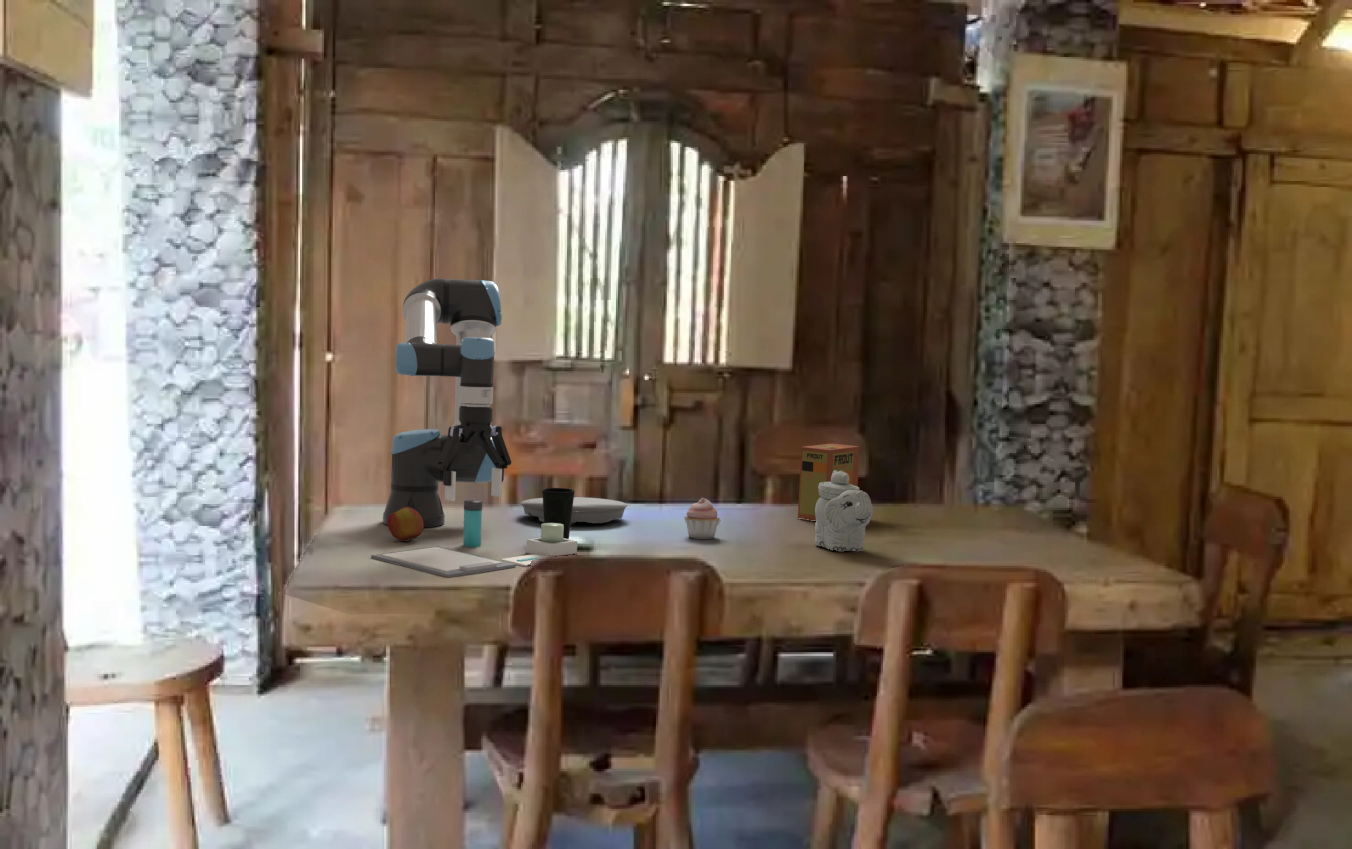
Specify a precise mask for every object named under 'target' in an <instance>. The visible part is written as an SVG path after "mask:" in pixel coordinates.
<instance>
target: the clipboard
mask: <svg viewBox="0 0 1352 849" xmlns="http://www.w3.org/2000/svg"><path fill="white" fill-rule="evenodd" d="M370 556H371V557H370V558H371V559H375V560H378V561H383V562H386V563H391V564H395V565H398V566H402V567H405V568H411V569H414V570H417V571H422V572H426V573H430V574H434V575H438V576H441V577H446V578H453V577H458V576H459V577H461V576H466V575H474V574H478V573H479V574H480V573H486V572H492V571H498V570H499V571H500V570H506V569H512V568H516V566H517V565H516V564H512V563H508V562H504V561H501V560H499V559H495V558H490V557H485V556H481V555H479V554H473V553H469V552H465V551H464V552H463V551H460V550H456V549H450V548H447V547H443V546H439V545H437V546H430V547H423V548H414V549H407V550H399V551H392V552H383V553H377V554H371V555H370Z"/></svg>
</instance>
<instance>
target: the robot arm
mask: <svg viewBox="0 0 1352 849" xmlns="http://www.w3.org/2000/svg"><path fill="white" fill-rule="evenodd" d="M402 315H403V318H404V321H405V336H404V338H405V339H404V342H400V343H398V344H396V346H395V372H396V373H397V375H401V376H403V375H404V376H409V377H445V378H446V377H449V378H455V387H454V388H455V389H454V390H455V391H454V396H455V397H454V423H453V424H452V425H451V426H449V427H448V432H447V434H446V435H441V431H440V430H439V429H436V428H430V429H429V428H427V429H416V430H407V431H403V432H402V431H401V432H399V433H397V434H395V435H394V436H393V437H392V442H391V443H392V444H391V451H390V454H391V470H390V472H391V473H390V493H389V496H388V499H387V502H386V506H385V508H384V511H383V513H382V523H383V524H384V525H387V526H388V518H389V516H390V515H391V514H392V513H394V512H397V511H398V510H400V509H402V508H404V507H410V508H412V509H414V510H416V511H417V512H418V513H419V514H420V516H421V517H422V520H423V528H432V527H433V528H434V527H439V526H442V525H444V524H445V520H446V519H445V516H446V514H445V512H444V509H443V505H442V504H443V503H442V501H441V498H440V494H439V483H442V484H443V486H444V500H445V501H450V502H454V501H456V485H457V483H474V484H478V483H490V482H491V483H490V486H491V490H490V493H491V494H490V496H491V497H497V498H501V497H502V487H503V486H502V485H503V484H502V483H503V482H504V480H505V478H504V476H505V475H504V473H505V469H507V468H508V466H511V464H512V460H511V457H510V454H509V451H508V448H507V446H506V443H505V440H504V438H503V431H502V430H503V429H502V428H503V427H502V426H500V425H491V423H492V422H493V414H494V413H493V412H494V411H493V410H494V409H493V407H492V406H491V405H492V404H493V403H494V373H495V372H494V369H495V355H496V351H495V341H494V339H493V338H491V336H493V335H494V334H495V333H496V330H497V327H498V326H501V324H502V304H501V295H500V290H499V287H498V285H497V283H495V282H494V281H492V280H482V279H461V278H460V279H459V278H457V279H456V278H440V277H439V278H437V277H436V278H432V279H428V280H426V281H423V282H421V283H419V284H418V285H416V286H414V287H413V288H412V289H411V290H410V291H409V292H408V293H407V294H406V297H405V299H404V300H403V304H402ZM438 324H446V325H447V324H448V325H450V331H451V333H452V334H453V335H454V336H455V337H456V341H455V342H456V343H455V344H447V343H446V344H444V343H443V344H442V343H438Z"/></svg>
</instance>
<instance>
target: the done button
mask: <svg viewBox="0 0 1352 849" xmlns="http://www.w3.org/2000/svg"><path fill="white" fill-rule="evenodd" d="M540 527H541V528H540V538H541V541H542V542H546V543H559V542H563V531H564V525H563V524H559V523H544V522H543V523H541V526H540Z"/></svg>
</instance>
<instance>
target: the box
mask: <svg viewBox="0 0 1352 849" xmlns="http://www.w3.org/2000/svg"><path fill="white" fill-rule="evenodd" d="M800 448H801V449H800V463H799V470H800V471H799V484H798V486H799V488H798V507H797V519H798V518H804V519H809V520H816V515H815V507H816V503H817V501H818V499H819V498H820V497H821V496H820V495H819V489H818V486H819V483H821V482H831V476H832V473H833V471H834V470H836V471H837V472H838V471H843V472H845V473H847V474H848V475H849V483H848V484H851V485H854V486H857V487H859V486H858V482H859V465H860V464H859V462H860V446H858V445H849V444H840V443H839V444H838V443H825V444H817V445H806V446H805V445H804V446H801V447H800Z"/></svg>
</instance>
